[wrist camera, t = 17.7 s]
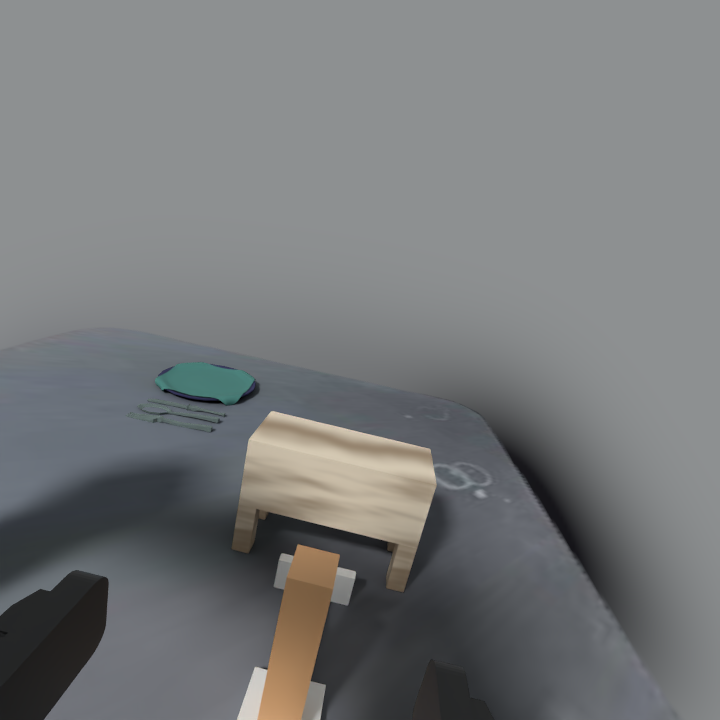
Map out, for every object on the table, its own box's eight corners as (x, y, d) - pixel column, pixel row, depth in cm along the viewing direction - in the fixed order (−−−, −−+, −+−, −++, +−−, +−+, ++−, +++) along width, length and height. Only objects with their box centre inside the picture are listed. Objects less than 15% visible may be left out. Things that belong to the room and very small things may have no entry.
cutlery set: (264, 381, 98) (265, 372, 97) (220, 440, 69) (221, 428, 68) (182, 365, 97) (183, 356, 96) (103, 417, 68) (103, 404, 68)
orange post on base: (322, 789, 28) (370, 619, 24) (209, 759, 28) (238, 586, 24) (349, 598, 43) (381, 476, 39) (276, 579, 43) (300, 456, 39)
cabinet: (403, 592, 45) (436, 485, 42) (231, 549, 46) (248, 439, 42) (402, 535, 54) (429, 443, 51) (258, 500, 55) (275, 406, 51)
